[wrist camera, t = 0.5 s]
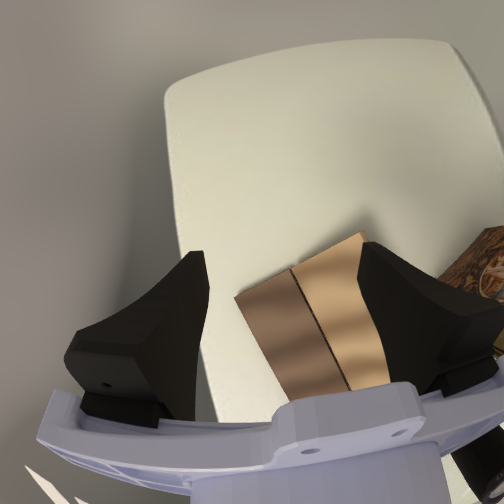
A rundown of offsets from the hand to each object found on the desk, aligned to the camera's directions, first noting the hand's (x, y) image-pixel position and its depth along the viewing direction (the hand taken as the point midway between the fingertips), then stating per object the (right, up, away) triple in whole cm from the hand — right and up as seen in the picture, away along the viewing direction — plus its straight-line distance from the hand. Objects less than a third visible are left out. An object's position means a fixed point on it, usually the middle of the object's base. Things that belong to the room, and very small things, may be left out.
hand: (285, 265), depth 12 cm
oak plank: (+12, -8, +19) cm, 24 cm away
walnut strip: (+5, -12, +24) cm, 27 cm away
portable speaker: (+34, -28, +17) cm, 47 cm away
